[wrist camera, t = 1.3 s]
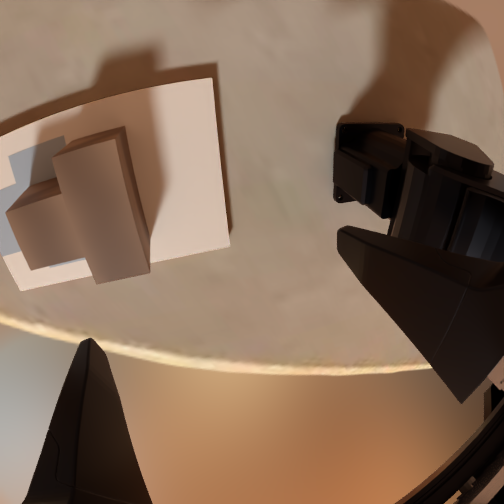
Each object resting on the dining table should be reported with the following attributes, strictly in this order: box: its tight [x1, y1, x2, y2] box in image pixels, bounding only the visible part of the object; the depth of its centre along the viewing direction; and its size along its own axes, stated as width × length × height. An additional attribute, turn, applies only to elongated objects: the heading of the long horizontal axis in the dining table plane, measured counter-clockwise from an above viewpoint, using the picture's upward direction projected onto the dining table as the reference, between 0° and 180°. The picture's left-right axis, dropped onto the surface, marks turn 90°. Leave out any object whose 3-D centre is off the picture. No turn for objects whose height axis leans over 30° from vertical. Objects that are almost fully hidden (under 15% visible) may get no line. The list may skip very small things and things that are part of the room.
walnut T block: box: [5, 126, 151, 284], centre depth 16 cm, size 8×8×4 cm
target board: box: [0, 78, 230, 291], centre depth 18 cm, size 18×12×1 cm, turn 93°
